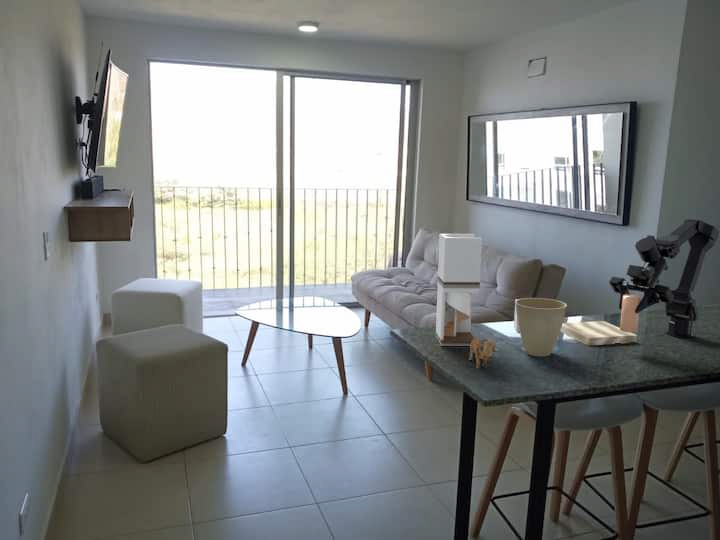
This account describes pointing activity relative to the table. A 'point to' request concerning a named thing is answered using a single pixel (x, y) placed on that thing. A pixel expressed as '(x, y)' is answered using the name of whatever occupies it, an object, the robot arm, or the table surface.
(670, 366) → the table surface
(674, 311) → the robot arm
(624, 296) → the peach capsule
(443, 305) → the white two-tier tower
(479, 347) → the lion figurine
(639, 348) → the table surface
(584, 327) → the birch base plate
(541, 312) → the plant pot
